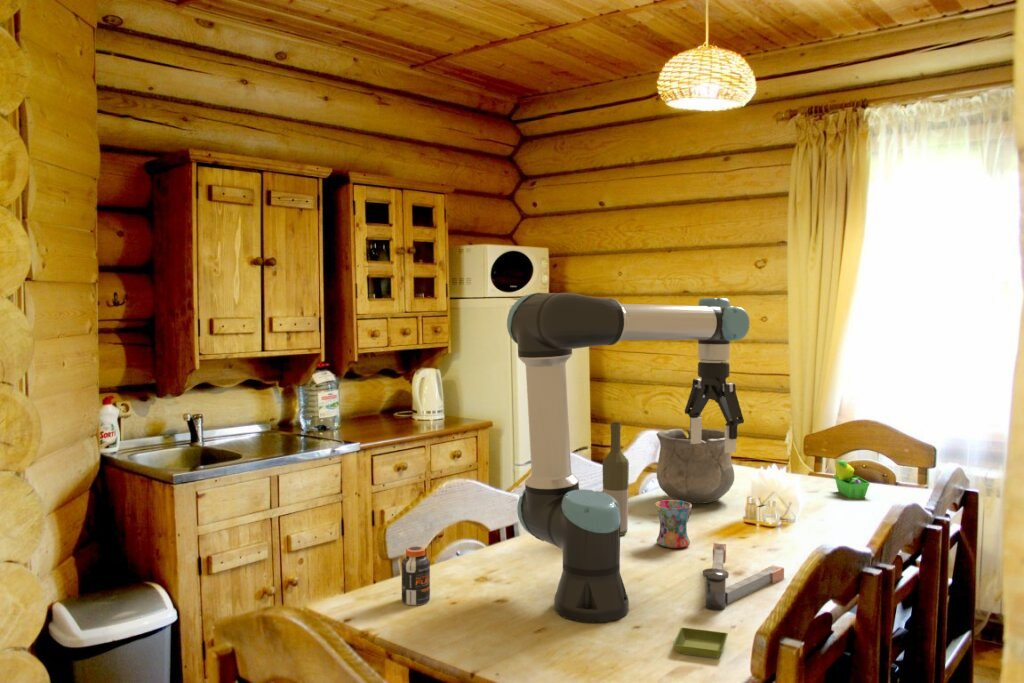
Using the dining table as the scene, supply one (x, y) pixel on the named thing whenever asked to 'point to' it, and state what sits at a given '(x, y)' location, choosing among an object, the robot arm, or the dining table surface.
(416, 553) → the pill bottle
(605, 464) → the bottle
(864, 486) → the fruit basket
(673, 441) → the pot
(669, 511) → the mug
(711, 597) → the base
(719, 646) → the green tray
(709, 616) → the dining table surface
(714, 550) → the tong arm
